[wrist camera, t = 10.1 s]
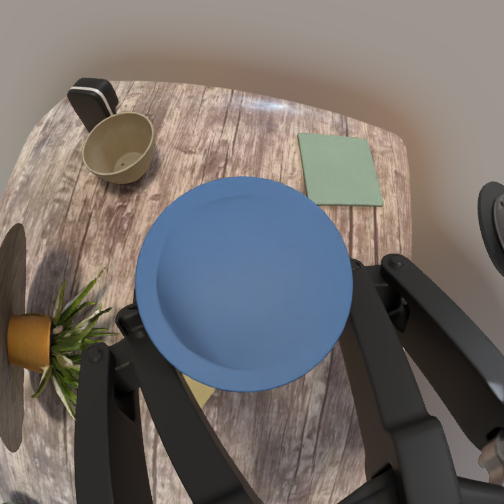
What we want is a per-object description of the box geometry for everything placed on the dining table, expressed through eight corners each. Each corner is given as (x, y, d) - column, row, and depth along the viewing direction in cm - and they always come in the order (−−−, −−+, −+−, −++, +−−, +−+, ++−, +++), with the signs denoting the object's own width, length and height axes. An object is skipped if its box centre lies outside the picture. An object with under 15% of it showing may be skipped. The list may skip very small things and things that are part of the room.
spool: (283, 249, 19) (337, 176, 9) (290, 348, 17) (360, 377, 8) (183, 253, 18) (139, 181, 8) (187, 354, 17) (140, 394, 7)
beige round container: (177, 160, 39) (169, 131, 32) (129, 212, 36) (111, 189, 30) (134, 130, 40) (122, 101, 33) (89, 175, 37) (69, 151, 30)
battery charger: (132, 124, 40) (113, 75, 29) (120, 142, 39) (96, 94, 28) (100, 118, 40) (77, 72, 29) (88, 135, 39) (62, 91, 28)
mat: (365, 141, 43) (366, 139, 42) (381, 206, 40) (383, 205, 39) (297, 135, 42) (298, 132, 41) (308, 205, 39) (309, 203, 38)
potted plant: (97, 425, 35) (176, 493, 19) (-3, 410, 23) (-8, 491, 7) (107, 280, 44) (189, 244, 28) (13, 250, 32) (17, 178, 16)
